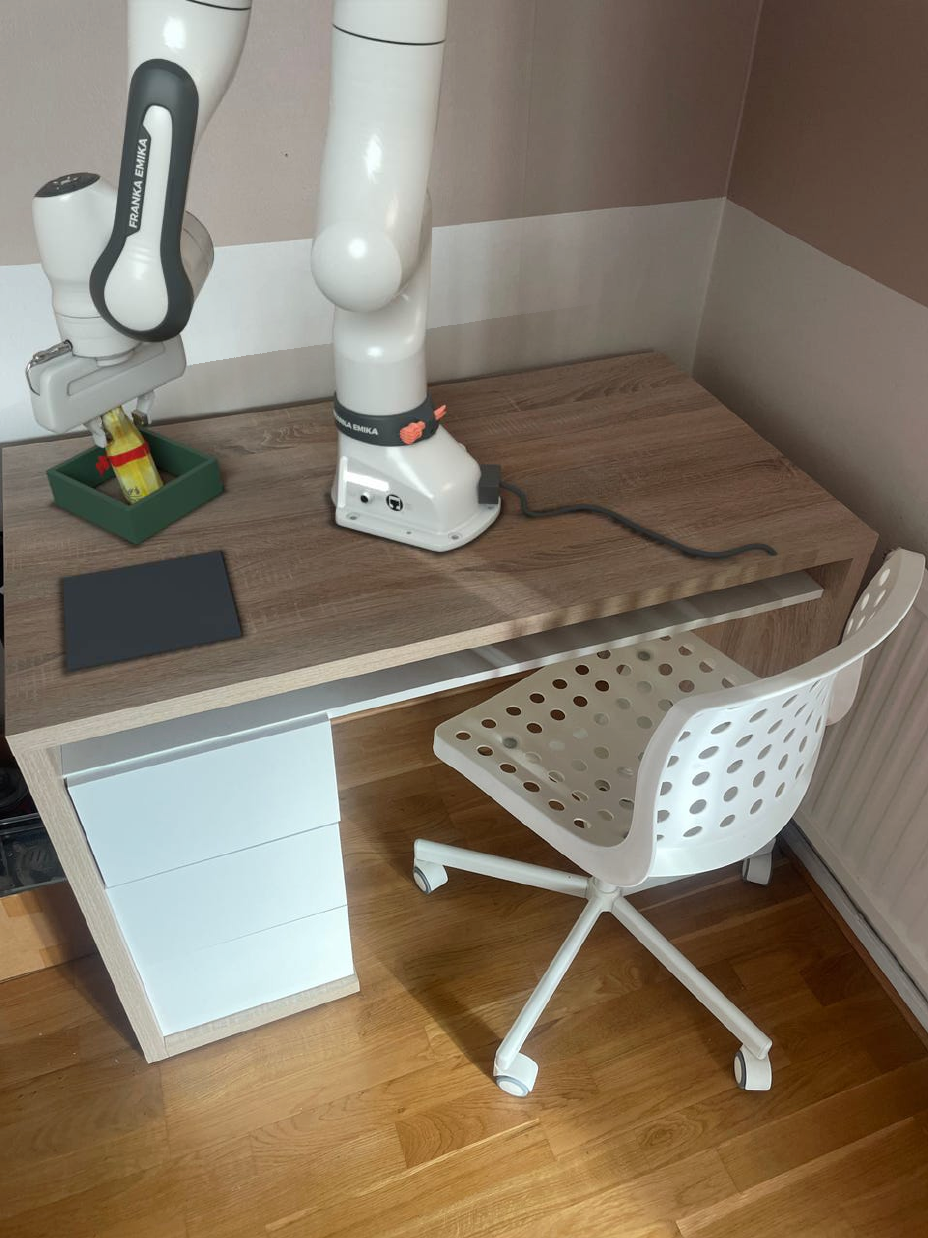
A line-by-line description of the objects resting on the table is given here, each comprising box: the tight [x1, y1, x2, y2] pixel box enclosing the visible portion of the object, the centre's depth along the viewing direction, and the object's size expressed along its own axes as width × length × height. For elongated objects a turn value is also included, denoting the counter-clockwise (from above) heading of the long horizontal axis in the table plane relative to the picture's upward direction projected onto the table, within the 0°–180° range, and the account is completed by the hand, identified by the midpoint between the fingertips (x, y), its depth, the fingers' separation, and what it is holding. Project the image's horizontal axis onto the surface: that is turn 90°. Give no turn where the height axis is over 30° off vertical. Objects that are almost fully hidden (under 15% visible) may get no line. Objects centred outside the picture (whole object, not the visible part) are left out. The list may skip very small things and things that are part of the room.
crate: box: [45, 425, 224, 545], centre depth 124 cm, size 15×15×5 cm
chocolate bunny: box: [96, 405, 164, 505], centre depth 121 cm, size 7×11×15 cm, turn 26°
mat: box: [62, 549, 243, 672], centre depth 109 cm, size 18×16×1 cm
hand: (124, 434), depth 120 cm, fingers closed on chocolate bunny, 4 cm apart
